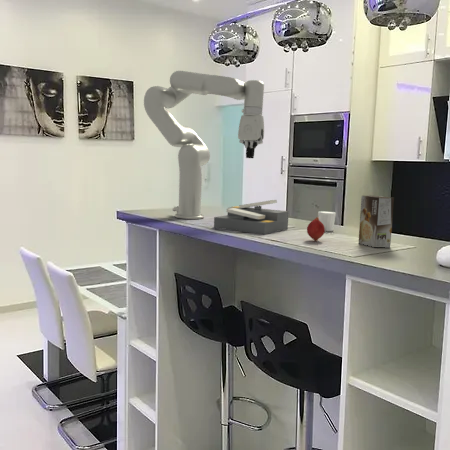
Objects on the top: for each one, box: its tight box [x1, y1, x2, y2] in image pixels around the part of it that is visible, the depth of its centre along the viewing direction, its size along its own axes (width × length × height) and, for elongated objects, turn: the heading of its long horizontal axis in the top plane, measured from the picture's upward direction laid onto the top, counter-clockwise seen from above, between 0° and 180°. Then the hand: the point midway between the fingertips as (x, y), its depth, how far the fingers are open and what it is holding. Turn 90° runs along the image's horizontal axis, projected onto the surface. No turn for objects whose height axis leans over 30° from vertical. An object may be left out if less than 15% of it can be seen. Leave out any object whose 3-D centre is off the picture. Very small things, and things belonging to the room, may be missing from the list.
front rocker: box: [225, 207, 265, 219], centre depth 188 cm, size 14×5×1 cm, turn 56°
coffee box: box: [358, 194, 395, 248], centre depth 164 cm, size 9×6×16 cm
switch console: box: [213, 205, 290, 235], centre depth 192 cm, size 22×18×8 cm
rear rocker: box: [239, 199, 278, 208], centre depth 195 cm, size 14×5×1 cm, turn 56°
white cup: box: [317, 210, 337, 232], centre depth 197 cm, size 7×7×7 cm
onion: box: [306, 216, 326, 242], centre depth 169 cm, size 6×6×8 cm
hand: (249, 158), depth 207 cm, fingers closed
